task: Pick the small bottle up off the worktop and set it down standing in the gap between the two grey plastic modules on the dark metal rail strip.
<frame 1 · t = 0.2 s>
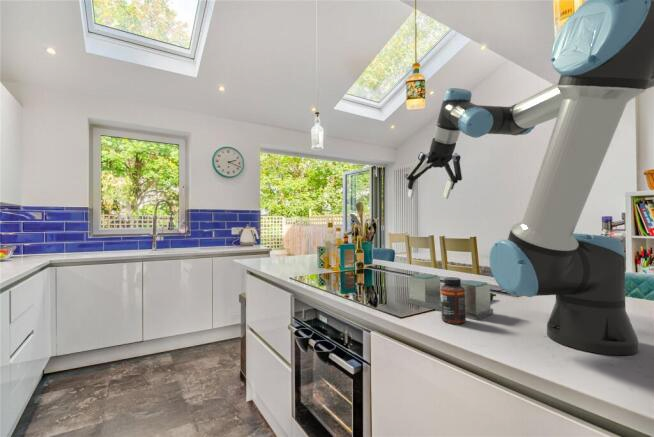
hand: (427, 196, 113), 35 cm above the counter, tool tilted 35°, fingers open, 13 cm apart
disk drive: (468, 302, 104), on the counter
rail: (447, 308, 95), on the counter
supplement bottle: (453, 321, 83), on the counter
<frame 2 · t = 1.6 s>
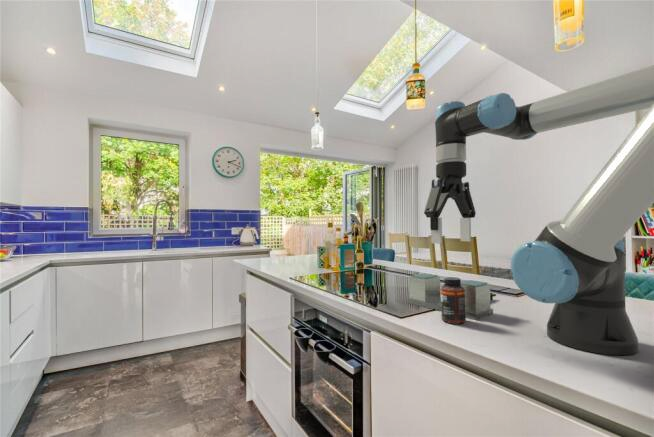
hand: (451, 242, 84), 21 cm above the counter, tool pointing down, fingers open, 13 cm apart
nothing on the counter moved.
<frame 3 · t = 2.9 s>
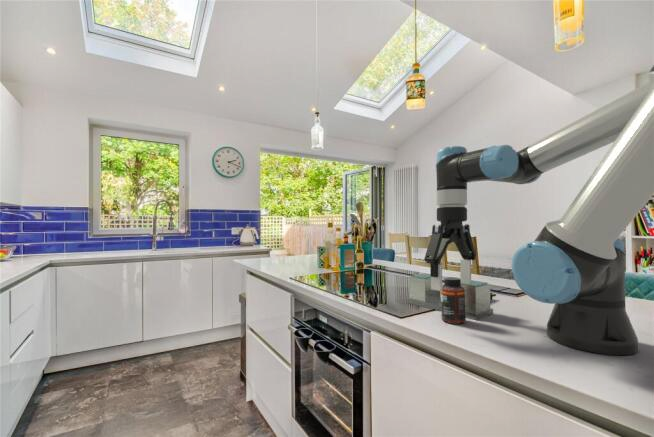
hand: (451, 286, 83), 9 cm above the counter, tool pointing down, fingers open, 13 cm apart
nothing on the counter moved.
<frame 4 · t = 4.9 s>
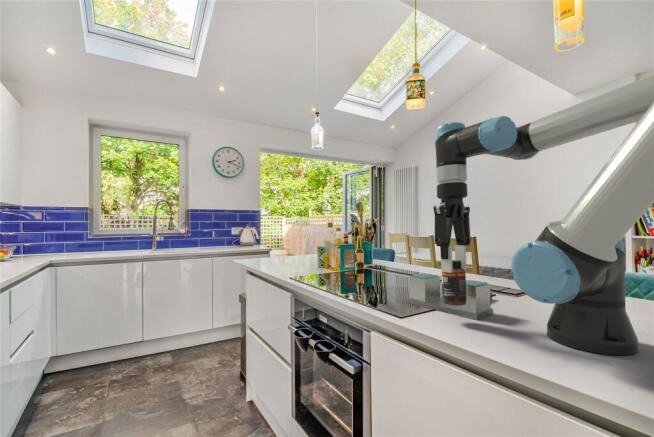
hand: (454, 270, 83), 13 cm above the counter, tool pointing down, fingers closed on supplement bottle, 6 cm apart
supplement bottle: (453, 304, 82), point 5 cm above the counter, touching gripper
everything else where it was.
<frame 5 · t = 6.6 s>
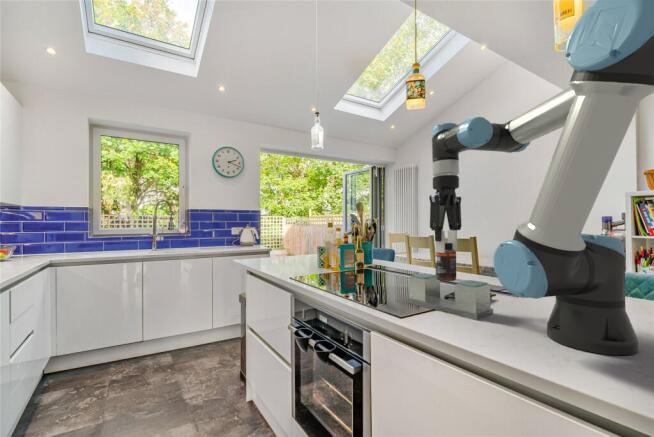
hand: (446, 251, 96), 17 cm above the counter, tool pointing down, fingers closed on supplement bottle, 6 cm apart
supplement bottle: (445, 280, 95), point 8 cm above the counter, touching gripper
everything else where it was.
when the fingers open (10 cm above the counter, at t = 8.6 s): supplement bottle stays where it is, resting on rail.
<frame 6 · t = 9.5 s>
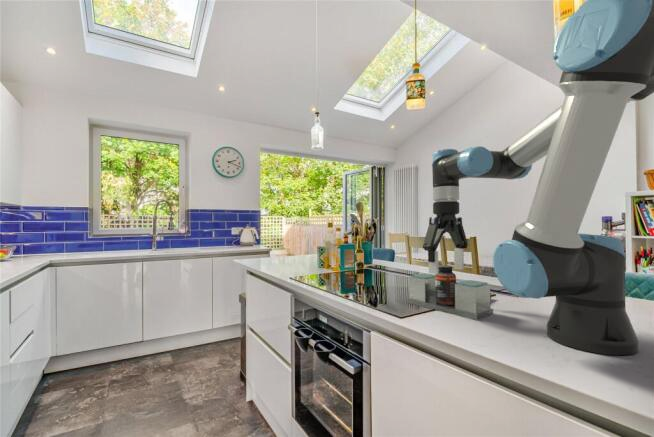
hand: (446, 271, 95), 11 cm above the counter, tool pointing down, fingers open, 13 cm apart
supplement bottle: (446, 303, 95), point 1 cm above the counter, touching rail
everything else where it was.
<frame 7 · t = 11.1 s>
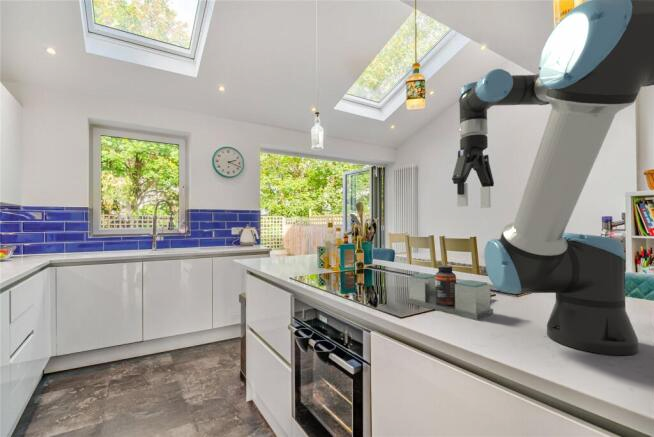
hand: (474, 207, 94), 31 cm above the counter, tool pointing down, fingers open, 13 cm apart
nothing on the counter moved.
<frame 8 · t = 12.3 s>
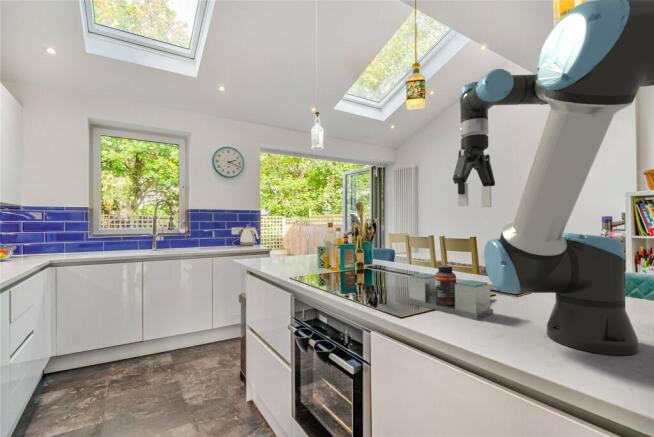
hand: (475, 206, 95), 31 cm above the counter, tool pointing down, fingers open, 13 cm apart
nothing on the counter moved.
at the end: supplement bottle inside the target area on the rail (0.4 cm from its centre), point 1.3 cm above the rail's base; supplement bottle tilted 0°; the gripper is holding nothing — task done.
